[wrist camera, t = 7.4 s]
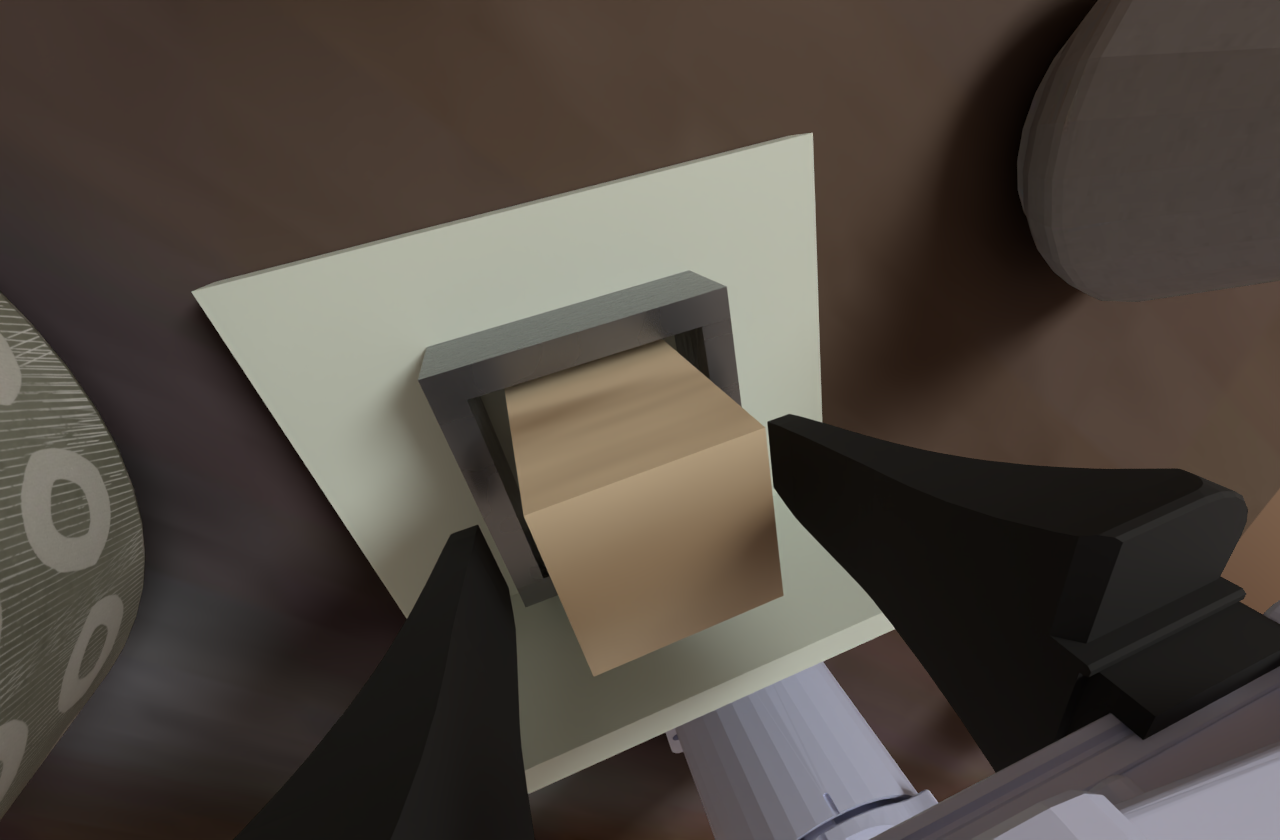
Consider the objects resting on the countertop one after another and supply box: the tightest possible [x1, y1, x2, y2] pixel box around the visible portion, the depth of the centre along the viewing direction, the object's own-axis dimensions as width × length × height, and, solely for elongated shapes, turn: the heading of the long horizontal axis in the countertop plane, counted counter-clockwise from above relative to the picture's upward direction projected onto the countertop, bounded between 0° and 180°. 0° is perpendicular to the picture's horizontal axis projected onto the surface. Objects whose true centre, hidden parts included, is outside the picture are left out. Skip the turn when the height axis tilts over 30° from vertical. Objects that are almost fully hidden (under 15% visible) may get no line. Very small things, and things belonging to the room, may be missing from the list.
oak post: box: [504, 339, 784, 677], centre depth 13 cm, size 4×4×7 cm
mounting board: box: [192, 133, 895, 794], centre depth 14 cm, size 13×16×7 cm
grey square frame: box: [418, 270, 742, 607], centre depth 15 cm, size 9×8×2 cm
